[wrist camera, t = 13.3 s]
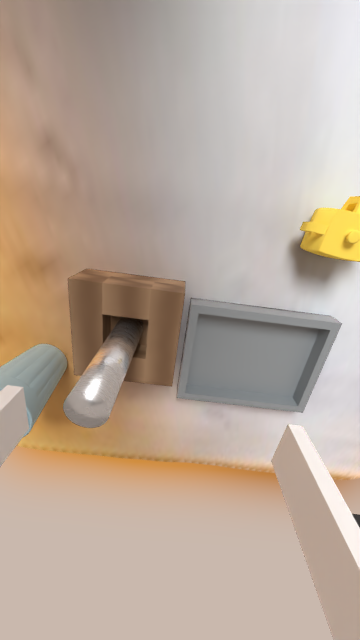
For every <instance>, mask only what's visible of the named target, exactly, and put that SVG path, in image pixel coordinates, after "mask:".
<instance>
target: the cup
mask: <svg viewBox="0 0 360 640" xmlns="http://www.w3.org/2000/svg"><path fill="white" fill-rule="evenodd" d="M66 368H67V359H66V357H65V355H64V354H63V352H62V351H61V350H59V349H58V348H57V347H55V346H52V345H50V344H38V345H36V346H34V347H32V348H30V349H29V350H27V351H25V352H24V353H22V354H20V355H19V356H17V357H16V358H14V359H12V360H11V361H9V362H8V363H6V364H4V365H3V366H1V367H0V391H1V390H2V389H3V388H5V387H6V386H7V385H11V386H18V387H23V388H24V395H25V402H26V410H27V417H28V424H29V429H28V431H27V432H26V433H25V435H24V436H23V437H25V436H26V435H27V434H28V433H29V432H30V430H31V429H32V427H33V425H34V423H35V422H36V420H37V418H38V417H39V415H40V413H41V411H42V409H43V408H44V406H45V404H46V403H47V401H48V399H49V398H50V396H51V394H52V392H53V391H54V389H55V387H56V386H57V384H58V382H59V380H60V379H61V377H62V375H63V374H64V372H65V370H66ZM23 437H22V438H23Z"/></svg>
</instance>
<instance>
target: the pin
mask: <svg viewBox="0 0 360 640" xmlns="http://www.w3.org/2000/svg"><path fill="white" fill-rule="evenodd" d="M142 332H143V323H142V321H141V320H140V319H136V318H128V317H121V318H120V319H119V321H118V322H117V324H116V325H115V327H114V328H113V330H112V331H111V333H110V334H109V336H108V337H107V339H106V340H105V342H104V343H103V345H102V346H101V348H100V349H99V351H98V352H97V353H96V355H95V356H94V358H93V359H92V361H91V362H90V364H89V365H88V367H87V368H86V370H85V371H84V373H83V374H82V376H81V377H80V379H79V380H78V382H77V383H76V385H75V386H74V388H73V389H72V391H71V392H70V394H69V395H68V397H67V398H66V400H65V401H64V404H63V410H64V413H65V415H66V416H67V418H68V419H69V420H70V421H72V422H73V423H75V424H76V425H79V426H82V427H86V428H95V427H99V426H101V425H103V424H104V423H105V422H106V421H107V420H108V418H109V416H110V413H111V411H112V408H113V405H114V403H115V400H116V398H117V395H118V393H119V390H120V388H121V385H122V383H123V380H124V378H125V375H126V372H127V370H128V367H129V365H130V362H131V360H132V357H133V355H134V352H135V350H136V347H137V344H138V342H139V339H140V337H141V334H142Z"/></svg>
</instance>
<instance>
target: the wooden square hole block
mask: <svg viewBox="0 0 360 640" xmlns="http://www.w3.org/2000/svg"><path fill="white" fill-rule="evenodd" d="M68 289H69V304H70V319H71V334H72V349H73V364H74V375H80V376H82V374H83V373H84V371H85V370H86V368H87V367H88V365H89V364H90V362H91V361H92V359H93V358H94V356H95V355H96V353H97V352H98V351H99V349H100V348H101V346H102V345H103V343H104V342H105V340H106V339H107V337H108V336H109V334H110V333H111V331H112V330H113V328H114V327H115V325H116V324H117V322H118V321H119V319H120V318H121V317H128V318H136V319H140V320H141V321H142V323H143V332H142V334H141V337H140V339H139V342H138V344H137V347H136V350H135V352H134V355H133V357H132V360H131V362H130V365H129V367H128V370H127V372H126V375H125V378H124V380H123V381H130V382H139V383H147V384H155V385H164V386H172V383H173V375H174V368H175V361H176V354H177V347H178V339H179V332H180V325H181V318H182V311H183V303H184V296H185V281H178V280H170V279H162V278H155V277H147V276H139V275H132V274H124V273H116V272H109V271H101V270H93V269H85V270H83V271H81V272H79V273H77V274H75V275H73V276H71V277H70V278H68Z"/></svg>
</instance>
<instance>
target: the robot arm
mask: <svg viewBox="0 0 360 640" xmlns="http://www.w3.org/2000/svg"><path fill="white" fill-rule="evenodd" d="M28 429H29V424H28V417H27V410H26V402H25V395H24V388H23V387H18V386H11V385H7V386H6V387H5V388H3V389H2V390H1V391H0V467H1V465H2V464H3V463H4V461H5V460H6V459H7V457H8V456H9V455H10V453H11V452H12V451H13V449H14V448H15V447H16V445H17V444H18V443H19V441H20V440H21V439H22V437H23V436H24V435H25V433H26V432H27V431H28ZM271 462H272V465H273V467H274V470H275V473H276V476H277V479H278V482H279V485H280V487H281V490H282V493H283V496H284V499H285V502H286V505H287V507H288V510H289V513H290V516H291V519H292V522H293V525H294V528H295V530H296V534H297V536H298V539H299V542H300V545H301V548H302V551H303V553H304V557H305V559H306V562H307V565H308V568H309V571H310V574H311V577H312V580H313V582H314V585H315V588H316V591H317V594H318V597H319V600H320V602H321V605H322V608H323V611H324V614H325V617H326V620H327V623H328V625H329V628H330V631H331V634H332V637H333V640H360V515H357V514H352V513H351V512H350V510H349V508H348V506H347V504H346V503H345V501H344V499H343V497H342V495H341V494H340V492H339V490H338V488H337V486H336V485H335V483H334V481H333V479H332V477H331V476H330V474H329V472H328V470H327V469H326V467H325V465H324V463H323V461H322V460H321V458H320V456H319V454H318V452H317V451H316V449H315V447H314V445H313V443H312V442H311V440H310V438H309V436H308V434H307V433H306V431H305V429H304V427H303V426H298V425H291V424H288V425H287V427H286V430H285V432H284V434H283V436H282V438H281V441H280V443H279V445H278V447H277V449H276V451H275V454H274V456H273V458H272V460H271Z"/></svg>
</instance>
